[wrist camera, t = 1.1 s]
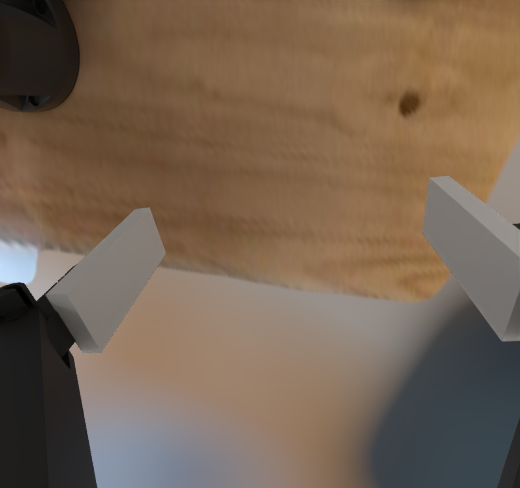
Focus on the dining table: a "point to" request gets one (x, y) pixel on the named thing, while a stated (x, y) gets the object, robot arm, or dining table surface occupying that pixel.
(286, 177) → the dining table surface
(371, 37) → the dining table surface
